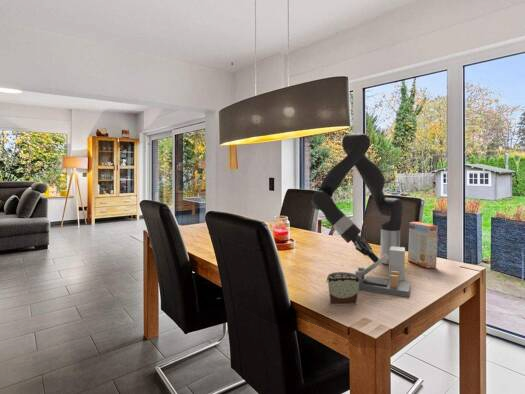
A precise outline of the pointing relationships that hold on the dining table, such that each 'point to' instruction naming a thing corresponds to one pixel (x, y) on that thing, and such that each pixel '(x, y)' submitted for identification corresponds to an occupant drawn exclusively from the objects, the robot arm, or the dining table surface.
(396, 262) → the small box
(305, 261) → the dining table surface
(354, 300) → the food container
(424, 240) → the cracker box
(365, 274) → the strap
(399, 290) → the mounting plate
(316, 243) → the dining table surface
